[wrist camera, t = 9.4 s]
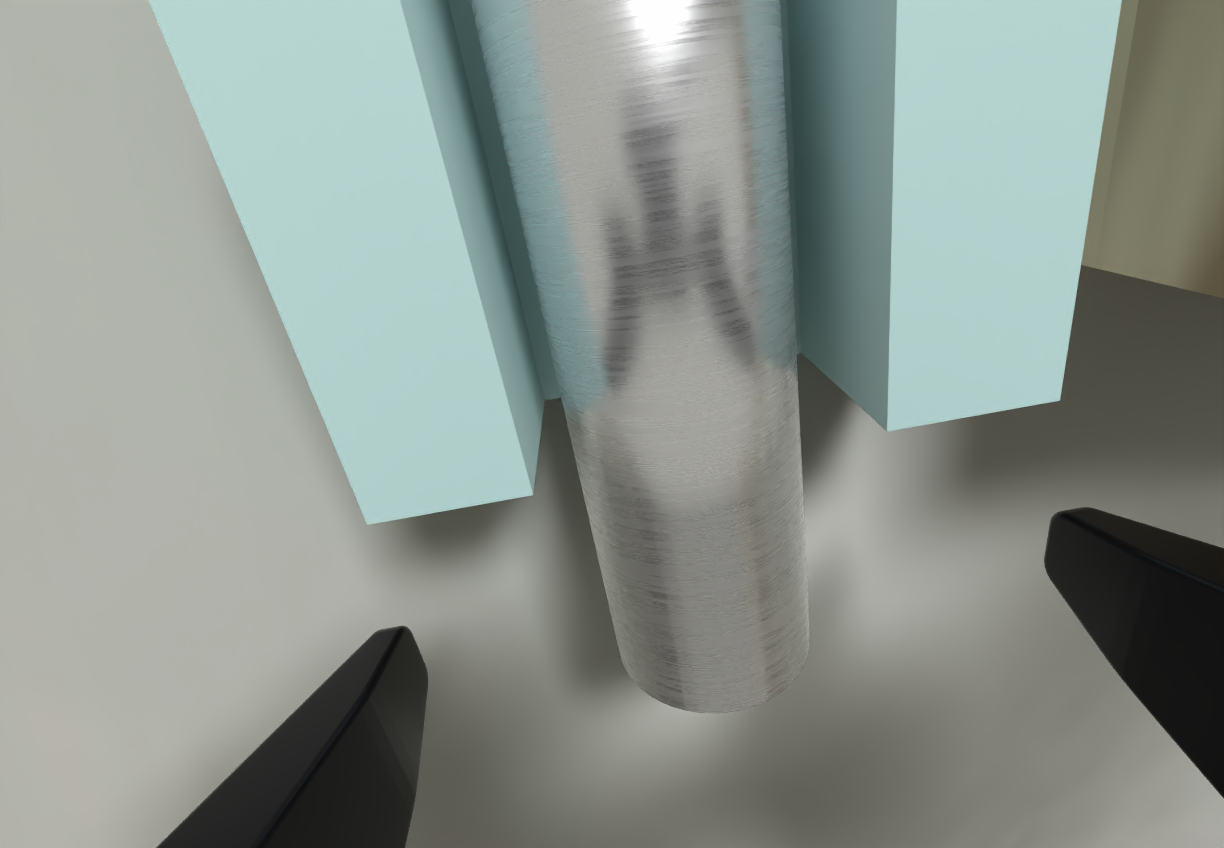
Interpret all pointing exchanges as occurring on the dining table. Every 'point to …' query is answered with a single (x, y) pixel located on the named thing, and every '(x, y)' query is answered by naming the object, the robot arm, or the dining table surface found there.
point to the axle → (668, 319)
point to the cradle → (496, 248)
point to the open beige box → (1163, 149)
